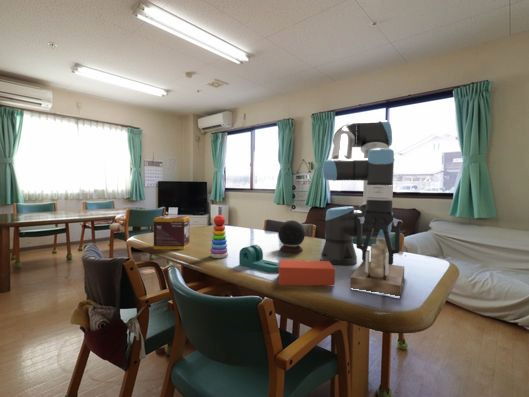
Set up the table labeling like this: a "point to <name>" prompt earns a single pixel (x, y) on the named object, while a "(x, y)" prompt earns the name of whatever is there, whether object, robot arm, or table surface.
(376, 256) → the beech leg
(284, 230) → the black ball on stand
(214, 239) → the stacking toy
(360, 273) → the walnut board
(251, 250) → the bracket
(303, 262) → the brick
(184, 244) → the supplement box
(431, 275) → the table surface
